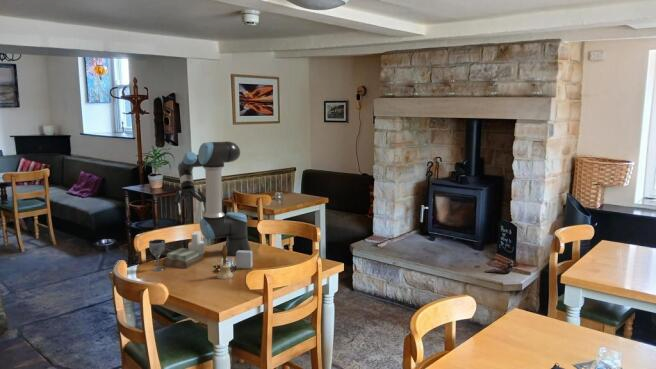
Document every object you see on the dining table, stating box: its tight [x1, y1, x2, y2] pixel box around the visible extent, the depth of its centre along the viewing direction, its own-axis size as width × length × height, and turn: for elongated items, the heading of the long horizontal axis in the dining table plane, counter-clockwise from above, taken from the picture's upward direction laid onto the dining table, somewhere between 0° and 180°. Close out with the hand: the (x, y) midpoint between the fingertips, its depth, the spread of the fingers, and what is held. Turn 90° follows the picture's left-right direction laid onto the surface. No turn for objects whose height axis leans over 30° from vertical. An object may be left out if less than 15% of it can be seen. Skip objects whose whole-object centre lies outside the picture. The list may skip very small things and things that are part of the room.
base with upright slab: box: [187, 230, 206, 255], centre depth 292 cm, size 9×9×12 cm
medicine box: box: [235, 250, 254, 270], centre depth 266 cm, size 8×4×9 cm, turn 84°
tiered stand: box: [162, 247, 204, 269], centre depth 274 cm, size 15×15×6 cm
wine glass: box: [148, 238, 166, 272], centre depth 262 cm, size 8×8×15 cm
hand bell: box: [216, 244, 234, 280], centre depth 252 cm, size 8×8×16 cm
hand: (191, 212), depth 299 cm, fingers open, 13 cm apart
